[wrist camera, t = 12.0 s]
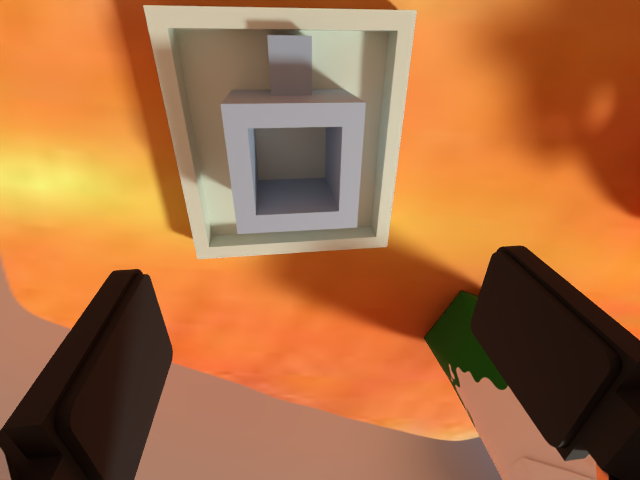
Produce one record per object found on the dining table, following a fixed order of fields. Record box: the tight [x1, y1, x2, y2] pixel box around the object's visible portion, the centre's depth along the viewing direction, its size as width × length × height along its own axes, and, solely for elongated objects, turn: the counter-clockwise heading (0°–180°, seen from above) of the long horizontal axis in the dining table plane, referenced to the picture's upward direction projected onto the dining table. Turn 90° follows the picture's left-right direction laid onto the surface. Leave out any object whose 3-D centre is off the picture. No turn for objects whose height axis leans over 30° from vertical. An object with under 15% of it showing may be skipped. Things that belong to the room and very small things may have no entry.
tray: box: [143, 5, 417, 259], centre depth 24 cm, size 15×16×2 cm
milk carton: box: [424, 291, 597, 480], centre depth 28 cm, size 9×9×20 cm
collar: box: [220, 35, 366, 234], centre depth 21 cm, size 10×7×6 cm
